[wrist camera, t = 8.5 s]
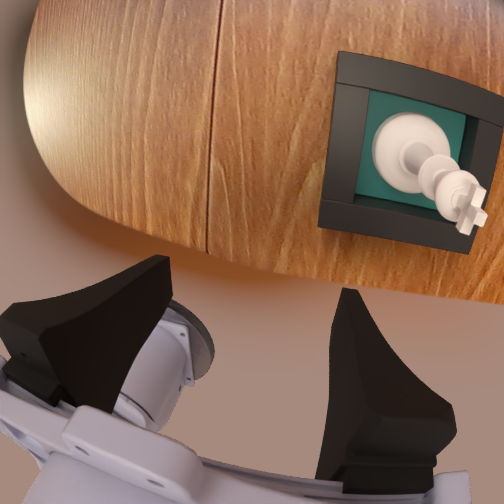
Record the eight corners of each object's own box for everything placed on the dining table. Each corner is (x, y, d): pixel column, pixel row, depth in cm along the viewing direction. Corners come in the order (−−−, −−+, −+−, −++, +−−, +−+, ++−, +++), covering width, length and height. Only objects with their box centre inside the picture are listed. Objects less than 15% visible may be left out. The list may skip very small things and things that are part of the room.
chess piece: (362, 178, 18) (389, 267, 10) (381, 100, 16) (438, 117, 7) (434, 200, 18) (500, 296, 9) (456, 126, 15) (553, 174, 7)
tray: (455, 235, 19) (468, 255, 17) (318, 209, 21) (317, 227, 18) (487, 95, 14) (508, 98, 12) (337, 55, 16) (338, 50, 13)
